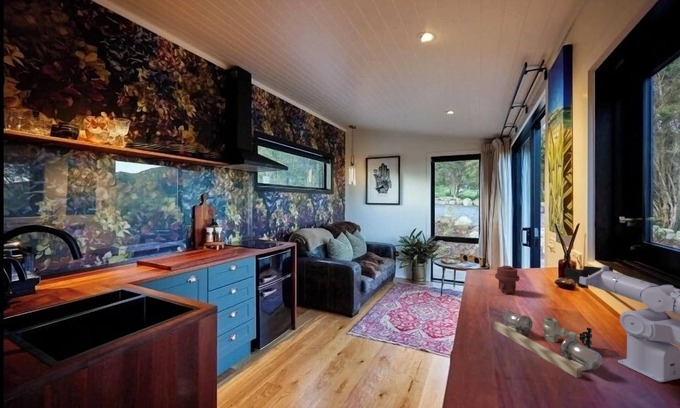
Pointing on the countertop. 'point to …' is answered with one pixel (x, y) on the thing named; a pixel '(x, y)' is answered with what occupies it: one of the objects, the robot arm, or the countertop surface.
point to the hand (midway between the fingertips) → (574, 270)
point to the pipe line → (568, 347)
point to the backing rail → (539, 350)
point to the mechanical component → (507, 279)
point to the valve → (563, 332)
